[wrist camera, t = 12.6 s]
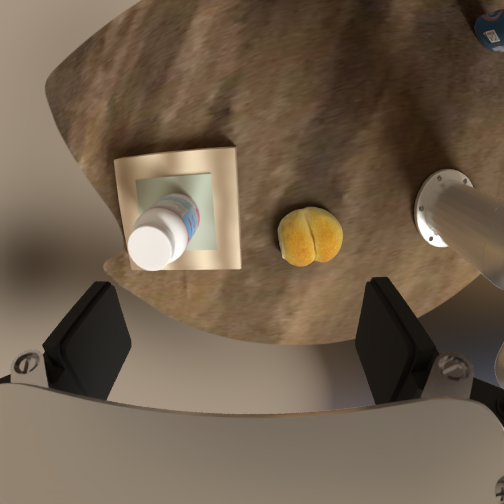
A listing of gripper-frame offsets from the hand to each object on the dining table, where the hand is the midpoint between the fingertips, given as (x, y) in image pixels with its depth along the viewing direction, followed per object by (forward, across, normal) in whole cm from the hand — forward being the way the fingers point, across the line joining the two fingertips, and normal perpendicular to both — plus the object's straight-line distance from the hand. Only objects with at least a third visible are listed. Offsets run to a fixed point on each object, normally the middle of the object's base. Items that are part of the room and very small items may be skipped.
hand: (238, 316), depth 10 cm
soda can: (+31, -40, -28) cm, 58 cm away
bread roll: (+31, -8, +8) cm, 33 cm away
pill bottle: (+27, +10, +4) cm, 29 cm away
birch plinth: (+30, +10, +4) cm, 32 cm away
